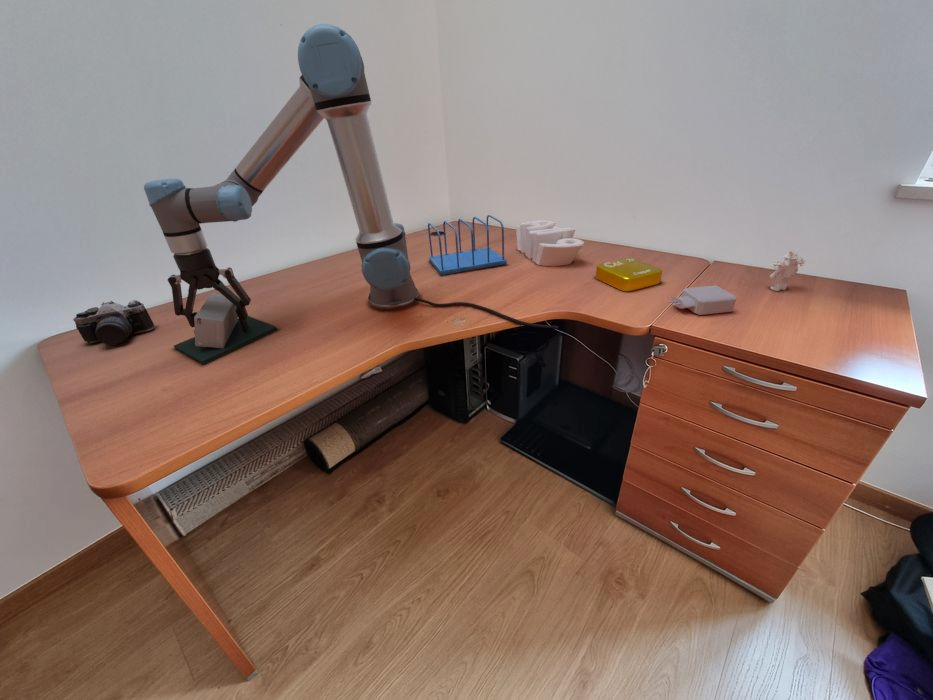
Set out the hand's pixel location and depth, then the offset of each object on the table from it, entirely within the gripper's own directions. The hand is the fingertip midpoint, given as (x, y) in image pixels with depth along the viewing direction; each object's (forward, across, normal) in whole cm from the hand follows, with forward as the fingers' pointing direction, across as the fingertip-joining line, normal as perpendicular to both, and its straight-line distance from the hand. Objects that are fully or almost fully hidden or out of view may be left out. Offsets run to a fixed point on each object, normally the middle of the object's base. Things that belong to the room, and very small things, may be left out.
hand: (225, 333), depth 105 cm
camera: (+2, +29, -11) cm, 31 cm away
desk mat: (+2, 0, 0) cm, 2 cm away
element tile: (+2, -119, +4) cm, 119 cm away
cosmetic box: (-4, +1, -9) cm, 10 cm away
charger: (+2, -124, +29) cm, 127 cm away
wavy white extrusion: (+2, -107, -30) cm, 111 cm away
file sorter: (+2, -76, -32) cm, 83 cm away
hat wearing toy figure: (+2, -155, +27) cm, 157 cm away
